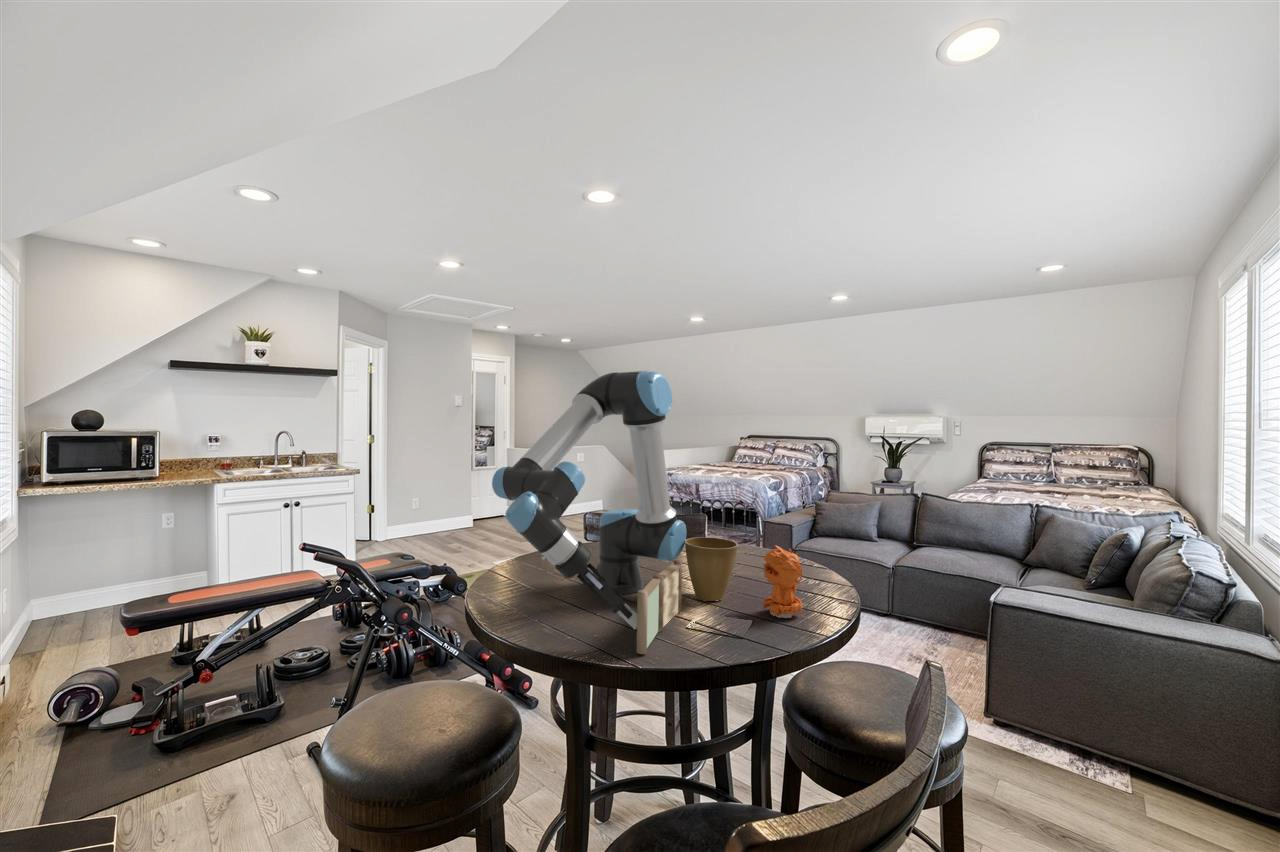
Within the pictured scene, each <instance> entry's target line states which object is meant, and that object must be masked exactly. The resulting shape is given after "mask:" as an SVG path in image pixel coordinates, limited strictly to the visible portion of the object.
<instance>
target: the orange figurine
mask: <svg viewBox="0 0 1280 852" xmlns="http://www.w3.org/2000/svg"><path fill="white" fill-rule="evenodd" d="M774 546H775V548H773V549H770V550H769V551H768V552H766V553H765V556H764V557H763V560H764V561H765V562H763V563H762V566H763V574H764V578H766V580H767V582H768V583H769V584H771V585H773V586H772V592H771V593H770V595H767V597H766V598H765V599H764V601H763V604H762V607H763V610H765V609H767V608H768V607H769V609H768V610H769V614H770V616H772V614H771V612H773V613H775V615H777V616H779V615H781V614H792V615H793V613H794V615H796V613H800V612H802V610H803V607H804V603H803V601H802V600H801V599H800V598H799V597H798V596H795V593H796V591H797V584H798V585H799V584H800V583H801V581H802V579H803V566H802V565H801V561H800V559H799V556H798V555H797V554H796V553H794V552H793V551H792V549H791V548H790V547H789V551H787V550H785V549H783V548H782V547H781V546H778V545H776V544H775V545H774ZM799 578H800V579H799Z"/></svg>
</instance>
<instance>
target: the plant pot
mask: <svg viewBox="0 0 1280 852" xmlns="http://www.w3.org/2000/svg"><path fill="white" fill-rule="evenodd" d="M738 545H739V544H738V543H737V542H736V541H733V540H730V539H728V538H720V537H711V536H709V537H708V536H705V537H704V536H699V537H691V538H686V540H685V544H684V547H685V556H686V562H687V569H688V572H689V577H690V581H691V585H692V589H693V592H694V595H695V597H696V599H697V600H699V599H700V600H699V601H701V600H705V601H716V600H720V599H722V600H723V598H724V596H725V594H726V591H727V589H728V587H729V583H730V580H731V577H732V573H733V570H734V567H735V562H736V557H737V550H738ZM705 601H704V602H705Z"/></svg>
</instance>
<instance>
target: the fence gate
mask: <svg viewBox="0 0 1280 852" xmlns="http://www.w3.org/2000/svg"><path fill="white" fill-rule="evenodd" d="M659 584H660V579H653V578H652V579H651V580H650V581H649V582H648V583H647V584H646V585H645V586H644V587H643V588H642V589H641V590H639V591H638V592H637V601H636V602H637V603H636V604H637V605H636V606H637V611H636V614H637V628H636V653H637V654H638V655H639V654H640V655H644V654H647V653H648V648H649V646H650V644H651V643H652V641H653V640H654V638H655V637H656V635H657V634H659V633H658V613H659Z"/></svg>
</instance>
